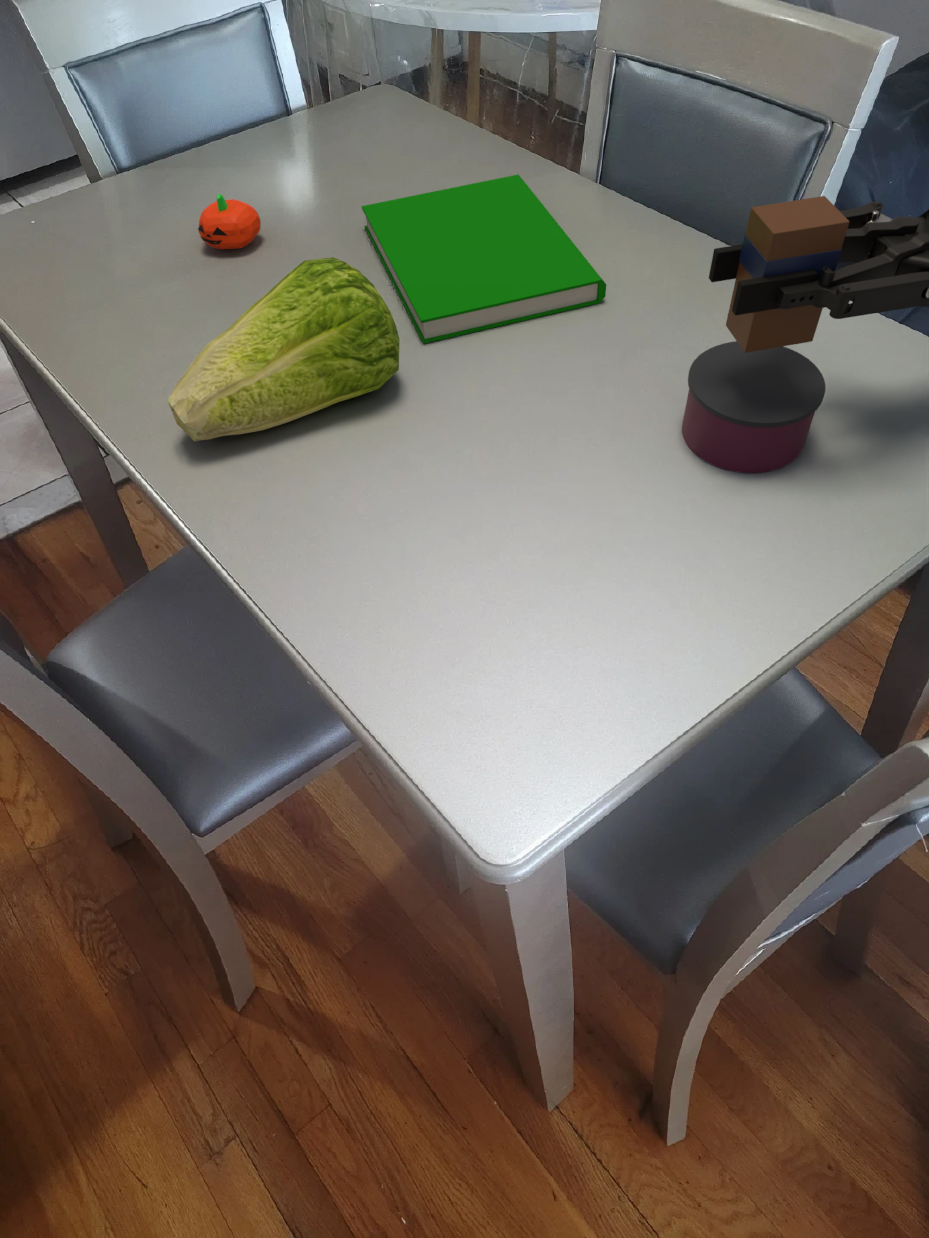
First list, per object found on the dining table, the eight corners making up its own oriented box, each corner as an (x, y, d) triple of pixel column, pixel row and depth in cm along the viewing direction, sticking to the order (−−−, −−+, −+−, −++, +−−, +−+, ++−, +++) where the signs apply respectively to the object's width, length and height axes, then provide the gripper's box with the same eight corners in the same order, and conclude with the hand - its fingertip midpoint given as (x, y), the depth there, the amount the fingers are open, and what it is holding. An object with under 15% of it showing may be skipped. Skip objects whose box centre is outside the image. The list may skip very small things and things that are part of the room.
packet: (791, 314, 80) (824, 195, 71) (813, 342, 77) (850, 221, 68) (724, 325, 79) (750, 206, 71) (744, 353, 77) (773, 234, 68)
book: (423, 344, 99) (421, 320, 97) (364, 228, 116) (361, 206, 113) (604, 302, 102) (606, 278, 100) (522, 195, 119) (522, 173, 117)
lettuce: (232, 505, 88) (183, 439, 97) (427, 383, 93) (363, 330, 101) (163, 397, 77) (114, 333, 86) (388, 264, 82) (320, 217, 90)
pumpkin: (265, 254, 113) (253, 205, 108) (203, 261, 112) (188, 212, 107) (265, 227, 117) (254, 179, 112) (206, 233, 117) (192, 185, 112)
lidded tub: (833, 432, 86) (852, 379, 81) (755, 494, 82) (771, 441, 77) (730, 377, 93) (743, 325, 88) (652, 432, 88) (661, 380, 83)
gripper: (1020, 335, 73) (757, 381, 71) (912, 231, 83) (680, 269, 81) (1065, 250, 67) (779, 298, 65) (942, 150, 77) (693, 189, 75)
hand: (725, 281), depth 73 cm, fingers closed on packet, 4 cm apart
